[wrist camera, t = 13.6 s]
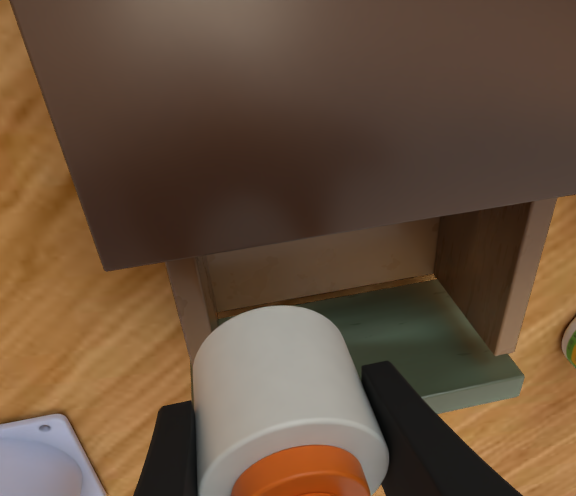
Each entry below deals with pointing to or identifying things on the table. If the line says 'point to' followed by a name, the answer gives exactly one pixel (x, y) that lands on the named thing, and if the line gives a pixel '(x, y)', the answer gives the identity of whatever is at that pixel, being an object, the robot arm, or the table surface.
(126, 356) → the table surface
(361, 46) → the cabinet
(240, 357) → the glue bottle
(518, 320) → the drawer
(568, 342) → the supplement bottle
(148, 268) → the table surface
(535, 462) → the table surface
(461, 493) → the robot arm
